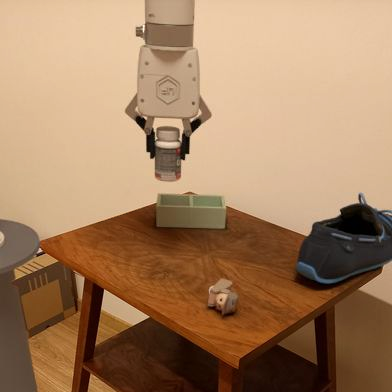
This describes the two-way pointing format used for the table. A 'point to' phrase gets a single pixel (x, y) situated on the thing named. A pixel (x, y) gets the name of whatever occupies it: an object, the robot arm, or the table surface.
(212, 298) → the toy character
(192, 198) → the rack
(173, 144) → the pill bottle
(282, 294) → the table surface
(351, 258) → the moccasin
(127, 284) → the table surface
